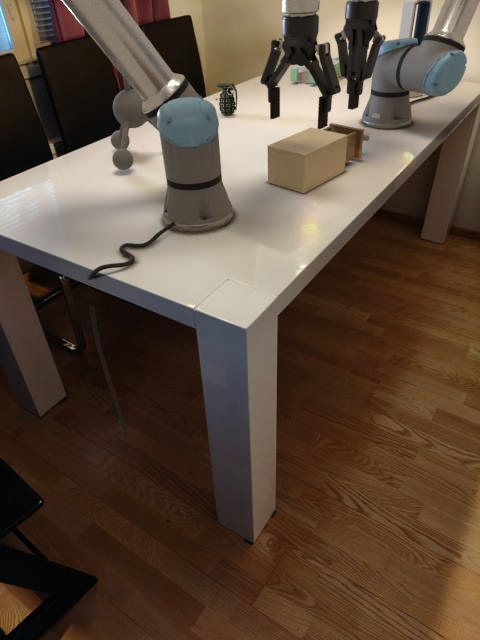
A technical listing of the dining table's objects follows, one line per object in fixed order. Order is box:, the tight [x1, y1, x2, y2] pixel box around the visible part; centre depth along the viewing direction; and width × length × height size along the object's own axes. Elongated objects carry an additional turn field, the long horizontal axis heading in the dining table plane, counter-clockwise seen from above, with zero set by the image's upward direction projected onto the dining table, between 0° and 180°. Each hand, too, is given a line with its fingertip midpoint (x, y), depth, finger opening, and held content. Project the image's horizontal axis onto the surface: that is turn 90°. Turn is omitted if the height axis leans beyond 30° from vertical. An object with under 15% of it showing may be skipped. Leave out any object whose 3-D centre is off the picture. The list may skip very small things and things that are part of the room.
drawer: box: [321, 122, 371, 164], centre depth 127 cm, size 22×10×7 cm, turn 137°
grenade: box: [215, 82, 238, 117], centre depth 166 cm, size 7×6×10 cm
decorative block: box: [290, 57, 342, 85], centre depth 205 cm, size 26×6×20 cm
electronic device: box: [398, 0, 433, 98], centre depth 170 cm, size 12×8×30 cm, turn 105°
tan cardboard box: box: [267, 127, 348, 194], centre depth 120 cm, size 17×11×9 cm, turn 137°
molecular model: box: [110, 76, 155, 171], centre depth 131 cm, size 24×22×30 cm
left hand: (297, 122), depth 112 cm, fingers open, 13 cm apart
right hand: (353, 108), depth 126 cm, fingers closed
